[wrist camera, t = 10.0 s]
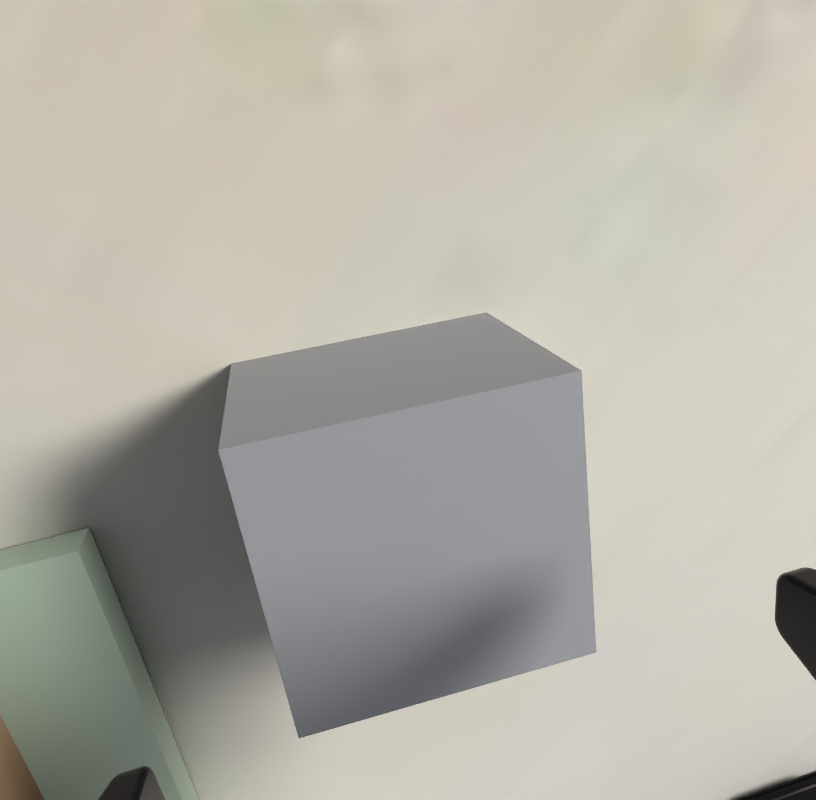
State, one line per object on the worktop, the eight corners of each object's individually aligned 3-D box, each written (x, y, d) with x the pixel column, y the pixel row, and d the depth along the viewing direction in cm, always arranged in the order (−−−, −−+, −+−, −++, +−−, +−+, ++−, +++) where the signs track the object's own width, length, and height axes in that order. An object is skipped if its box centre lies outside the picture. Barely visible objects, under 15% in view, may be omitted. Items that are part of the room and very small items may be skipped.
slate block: (507, 526, 18) (595, 652, 13) (288, 581, 17) (299, 738, 12) (485, 311, 15) (581, 370, 11) (231, 362, 14) (217, 449, 10)
